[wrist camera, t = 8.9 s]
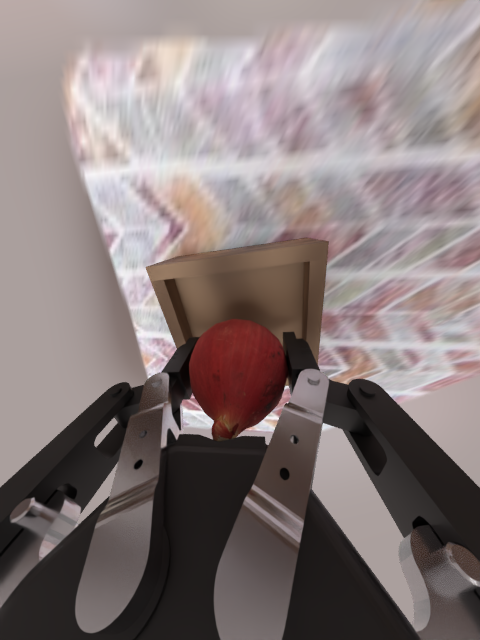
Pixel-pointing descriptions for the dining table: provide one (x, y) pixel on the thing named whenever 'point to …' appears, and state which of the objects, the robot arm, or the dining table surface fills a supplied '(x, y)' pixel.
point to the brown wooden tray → (245, 289)
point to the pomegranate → (237, 375)
